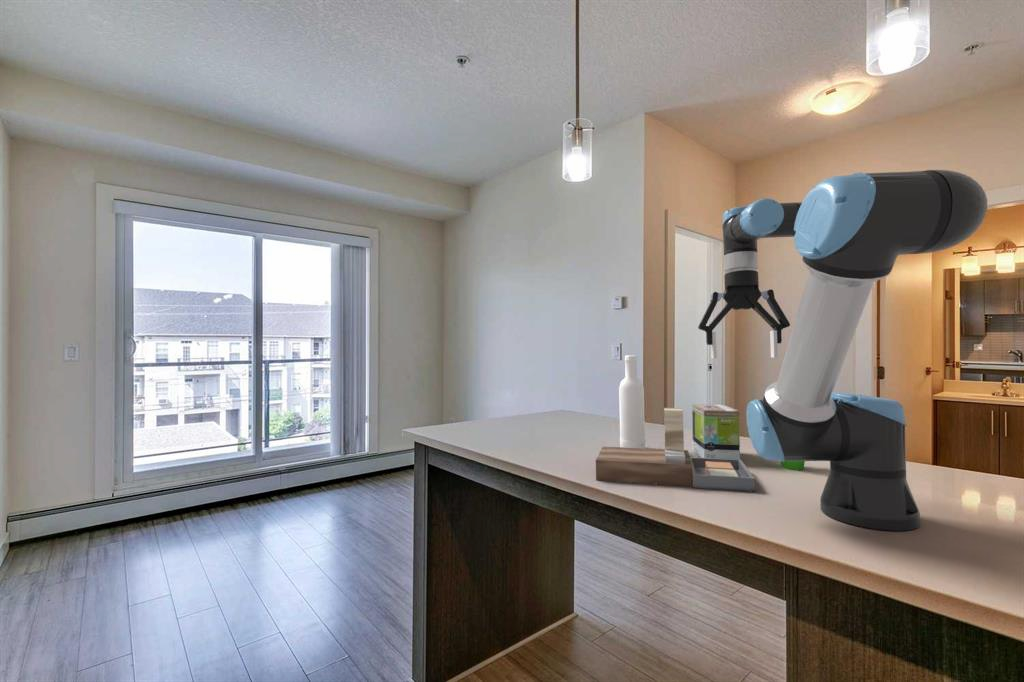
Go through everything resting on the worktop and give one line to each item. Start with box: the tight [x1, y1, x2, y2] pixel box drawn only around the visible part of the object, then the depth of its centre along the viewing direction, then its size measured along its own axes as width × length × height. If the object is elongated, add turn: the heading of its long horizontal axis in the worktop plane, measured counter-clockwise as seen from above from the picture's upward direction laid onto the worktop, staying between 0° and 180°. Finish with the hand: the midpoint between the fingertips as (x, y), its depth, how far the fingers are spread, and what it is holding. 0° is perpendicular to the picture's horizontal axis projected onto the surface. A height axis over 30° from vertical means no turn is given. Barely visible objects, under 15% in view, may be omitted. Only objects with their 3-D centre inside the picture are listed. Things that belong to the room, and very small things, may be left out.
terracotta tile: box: [705, 461, 734, 475], centre depth 119 cm, size 6×6×2 cm
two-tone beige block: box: [663, 407, 685, 465], centre depth 119 cm, size 16×4×12 cm, turn 163°
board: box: [595, 446, 693, 487], centre depth 121 cm, size 16×22×5 cm
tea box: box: [691, 404, 741, 460], centre depth 139 cm, size 15×10×15 cm, turn 171°
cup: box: [779, 461, 806, 471], centre depth 126 cm, size 9×9×11 cm
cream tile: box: [708, 469, 739, 477], centre depth 112 cm, size 6×6×2 cm
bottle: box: [618, 354, 646, 448], centre depth 151 cm, size 8×8×30 cm
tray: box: [690, 456, 756, 493], centre depth 116 cm, size 18×13×3 cm
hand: (743, 358), depth 115 cm, fingers open, 13 cm apart
